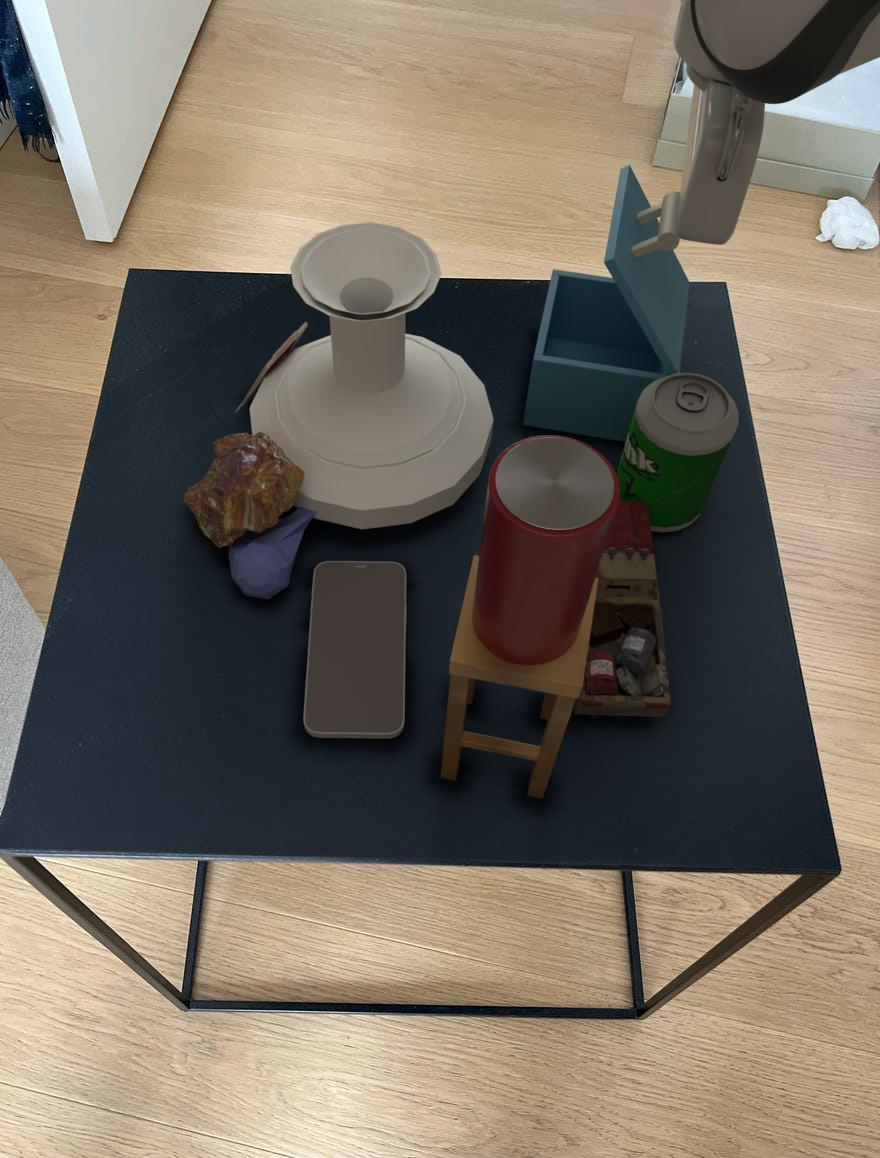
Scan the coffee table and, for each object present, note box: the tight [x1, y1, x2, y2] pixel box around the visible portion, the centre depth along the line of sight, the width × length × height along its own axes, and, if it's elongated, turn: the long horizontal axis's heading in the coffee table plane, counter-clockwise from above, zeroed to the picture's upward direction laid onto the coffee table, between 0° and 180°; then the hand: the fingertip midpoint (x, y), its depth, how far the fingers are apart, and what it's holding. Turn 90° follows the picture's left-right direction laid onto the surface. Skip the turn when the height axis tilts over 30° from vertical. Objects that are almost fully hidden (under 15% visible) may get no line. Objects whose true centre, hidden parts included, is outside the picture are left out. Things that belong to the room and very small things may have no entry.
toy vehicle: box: [573, 501, 672, 719], centre depth 73 cm, size 7×18×8 cm, turn 178°
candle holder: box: [249, 222, 495, 530], centre depth 77 cm, size 20×20×19 cm
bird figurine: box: [227, 506, 316, 600], centre depth 77 cm, size 8×6×6 cm
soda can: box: [616, 372, 740, 533], centre depth 78 cm, size 8×8×12 cm
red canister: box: [472, 435, 620, 665], centre depth 52 cm, size 6×6×12 cm
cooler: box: [522, 268, 669, 443], centre depth 86 cm, size 11×11×8 cm
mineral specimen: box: [183, 432, 305, 549], centre depth 77 cm, size 12×8×7 cm, turn 39°
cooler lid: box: [603, 164, 691, 376], centre depth 77 cm, size 12×11×4 cm
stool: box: [440, 555, 598, 799], centre depth 64 cm, size 8×8×17 cm
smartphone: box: [303, 560, 407, 740], centre depth 75 cm, size 7×1×15 cm
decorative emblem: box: [234, 321, 309, 414], centre depth 86 cm, size 10×1×10 cm
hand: (692, 216), depth 73 cm, fingers closed
